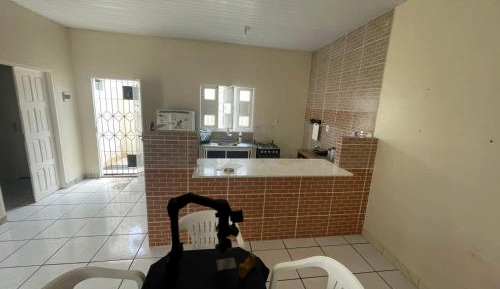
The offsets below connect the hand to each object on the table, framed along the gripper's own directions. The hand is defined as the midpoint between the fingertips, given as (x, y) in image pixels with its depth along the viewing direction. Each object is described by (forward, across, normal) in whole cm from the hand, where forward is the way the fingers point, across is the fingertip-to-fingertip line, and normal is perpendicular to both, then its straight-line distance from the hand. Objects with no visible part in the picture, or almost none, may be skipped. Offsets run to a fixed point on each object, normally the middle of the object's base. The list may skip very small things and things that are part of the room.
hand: (222, 250), depth 117 cm
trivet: (+9, 0, -2) cm, 9 cm away
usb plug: (+1, 0, -1) cm, 2 cm away
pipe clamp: (+9, -6, -12) cm, 16 cm away
